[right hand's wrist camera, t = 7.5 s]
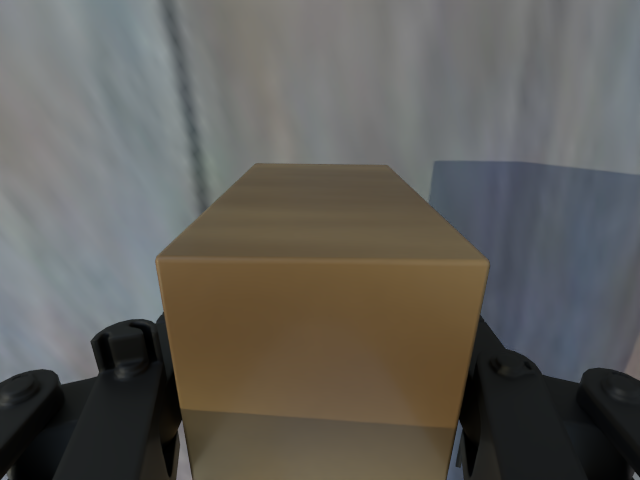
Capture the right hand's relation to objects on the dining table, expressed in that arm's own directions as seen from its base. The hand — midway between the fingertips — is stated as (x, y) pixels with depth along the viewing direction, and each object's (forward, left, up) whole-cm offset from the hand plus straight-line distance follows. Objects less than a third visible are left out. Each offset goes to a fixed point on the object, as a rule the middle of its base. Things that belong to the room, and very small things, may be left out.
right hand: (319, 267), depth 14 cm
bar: (+15, +26, -1) cm, 30 cm away
